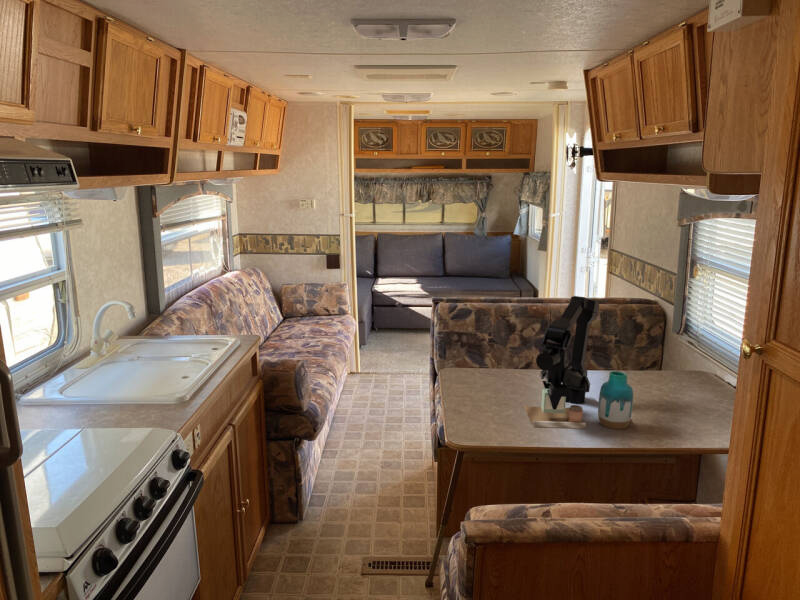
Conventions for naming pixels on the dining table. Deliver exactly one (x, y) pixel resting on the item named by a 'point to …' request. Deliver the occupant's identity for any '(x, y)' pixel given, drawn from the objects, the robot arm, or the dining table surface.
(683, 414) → the dining table surface
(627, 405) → the vase
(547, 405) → the tea box
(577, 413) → the spice jar
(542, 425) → the wooden tray
